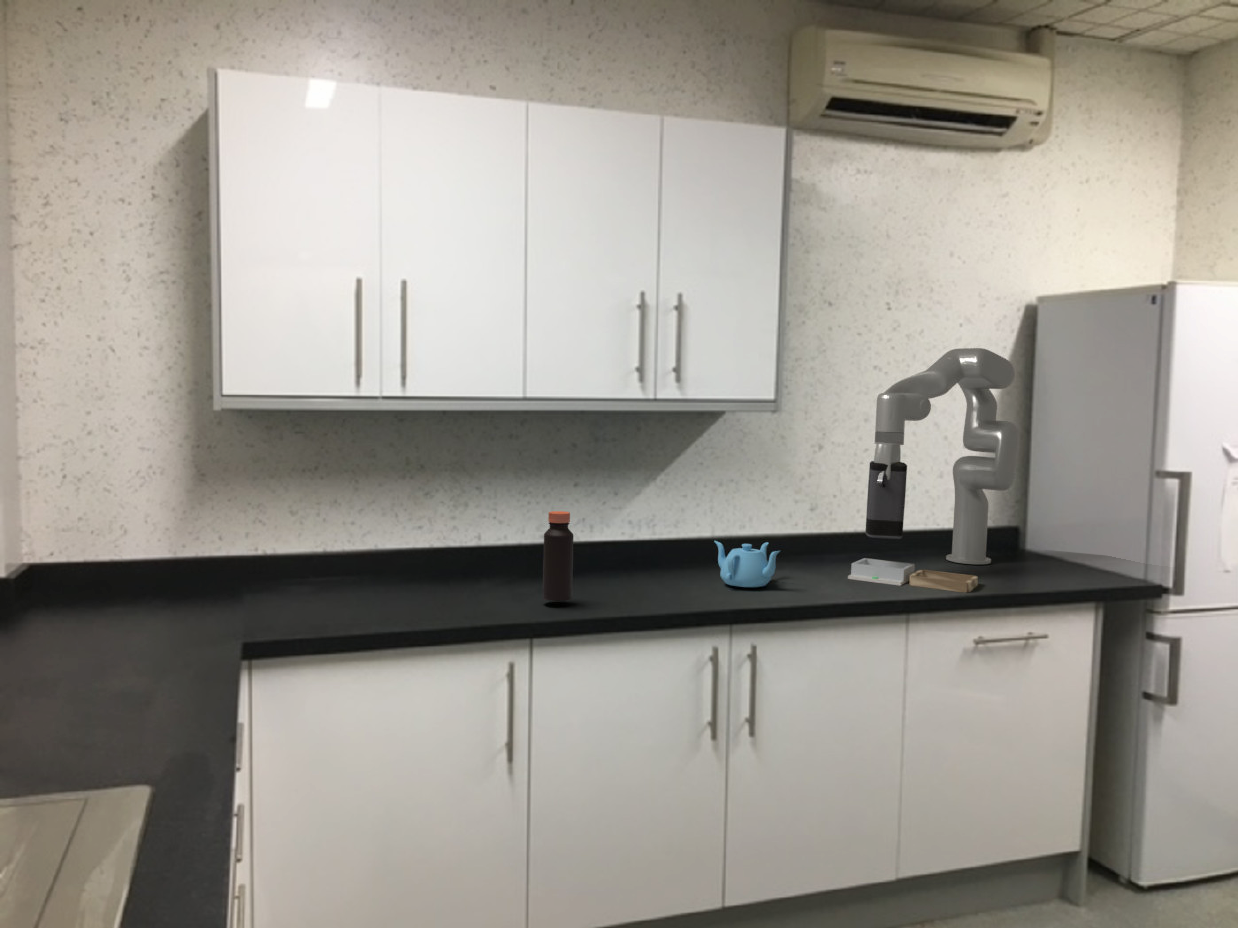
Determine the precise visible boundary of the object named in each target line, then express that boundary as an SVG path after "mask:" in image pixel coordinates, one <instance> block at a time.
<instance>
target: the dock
mask: <svg viewBox="0 0 1238 928" xmlns="http://www.w3.org/2000/svg"><path fill="white" fill-rule="evenodd" d="M850 566H851V567H850V574H849V575H847V580H848V579H849V580H854V581H862V582H870V583H877V584H878V583H879V584H885V585H894V586H900V587H901V586H902V585H904V584H906V583H909V582H910V575H911V574H913V573H915V572H916V569H915V567H916V565H915V563H910V562H902V561H901V562H899V561H893V560H883V559H875V558H866V557H864V558H861V559H859V560H856V561H854V562H852V563H851V565H850Z"/></svg>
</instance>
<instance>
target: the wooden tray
mask: <svg viewBox="0 0 1238 928" xmlns="http://www.w3.org/2000/svg"><path fill="white" fill-rule="evenodd" d="M978 580H979V576H977V575H972V574H964V573H957V572H946V571H938V570H931V569H930V570H929V569H919V570H917V571H914V573H913V574H911V575H910V581H909V582H908V583H909V586H912V587H920V588H929V589H934V590H936V589H937V590H943V591H949V592H950V591H951V592H958V593H970V592H972V591H973V590H974V589H975V588H976V587H978V584H979V583H978V582H979V581H978Z"/></svg>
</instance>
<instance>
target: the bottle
mask: <svg viewBox="0 0 1238 928" xmlns="http://www.w3.org/2000/svg"><path fill="white" fill-rule="evenodd" d="M570 521H571V513H570V512H569V511H559V510H558V511H557V510H555V511H548V524H549V528H548V529H547V530H546V531H545V532H544V534H543V557H542V558H543V561H542V564H543V565H542V567H543V569H542V572H543V573H542V598H543V599H544V600H547V601H550V602H551V601H552V602H565V601H568V600H571V599H573V598H572V597H573V574H574V573H573V569H574V533H573V532H572V531H571V530H570V529H569V525H570Z"/></svg>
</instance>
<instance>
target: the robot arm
mask: <svg viewBox="0 0 1238 928" xmlns="http://www.w3.org/2000/svg"><path fill="white" fill-rule="evenodd" d="M1015 375H1016V373H1015V368H1014V365H1013V364H1012V363H1011V361H1009V360H1008V359H1007V358H1005V357H1003V356H1001V355H999V354H998V353H996V352H994V351H991V350H989V349H987V348H986V349H985V348H982V347H981V348H980V347H976V348H975V347H973V348H972V347H970V348H965V347H964V348H954V349H950V350H948V351H947V352H945V353H944V354H943V355H942V356H941V357H939V358H938V359H937V360H936V361H935V362H933V363H932V364H931V365H930V366H929V367H928V368H927V369H926V370H924V371H921V372H918V373H916V374H914V375H911V376H909V377H906V378H904V379H901V380H899V381H896V382H895V383H893V384H892V385H891V386H890V387H889V388H887V389H886V390H885V391H884V392H882V393H879V394H878V395H877V398H876V410H875V427H874V428H875V430H874V431H875V433H874V444H875V449H874V450H875V451H874V456H873V461H874V463H884V464H886V465H888V467H887V470H886V476H887V479H888V480H889V479H890V473H891V467H890V465H891V464H894V463H898V462H901V455H902V454H901V453H902V452H901V446H904V445H905V444H904V443H905V426H906V424H905V423H906V421H908V422H919V421H922V420H924V419H926V418H927V417H928V416H929V415H930V413H931V410H932V404H931V401H930V399H935V398H938V397H941V396H944V395H945V394H948V393H949V392H950V390H952V389H953V387H954V386H956V385H957V384H958V386H959V387H960V389H961V391H962V393H963V396H964V397H965V402H966V411H965V412H966V413H965V418H964V427H963V433H962V435H963V436H962V443H963V447H965V449H967V450H968V451H970V452H971V451H972V452H976V453H977V452H980V453H989V454H990V453H991V454H994V457H992V456H991V457H989V456H980V455H966V456H965V455H964V456H961V457H959V458H958V459H956V461H955V462H954V464H953V466H952V479H953V485H954V505H953V507H954V509H953V522H952V523H953V525H952V527H953V528H952V542H951V543H952V545H951V553H950V554H947V555H946V557H945V558H946V560H947V561H948V562H949V561H950V562H953V563H958V564H965V565H989V564H991V563H992V559H991V558H990V557H987V543H988V541H987V539H988V521H989V520H988V518H989V507H990V506H989V499H988V497H987V496H986V494H985V492H984V490H990V491H1007V490H1009V489H1010V488H1011V487H1012V486H1013V484H1014V482H1015V476H1016V473H1017V471H1016V470H1017V465H1018V458H1019V457H1018V456H1019V449H1020V441H1021V439H1020V432H1019V429H1018V426H1017V425H1016V424H1014V423H1013V422H1011V421H1007V420H997V413H998V412H997V411H998V402H997V399H996V398H995V396H994V394H993V392H992V391H991V390H1003V389H1007V388H1008V387H1010V386H1011V385H1012V384H1013V381H1014V380H1015ZM990 389H991V390H990ZM877 483H878V485H879V486H881V487H884V488H885V484H884V471H883V472H881V473H879V476H878V480H877Z"/></svg>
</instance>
